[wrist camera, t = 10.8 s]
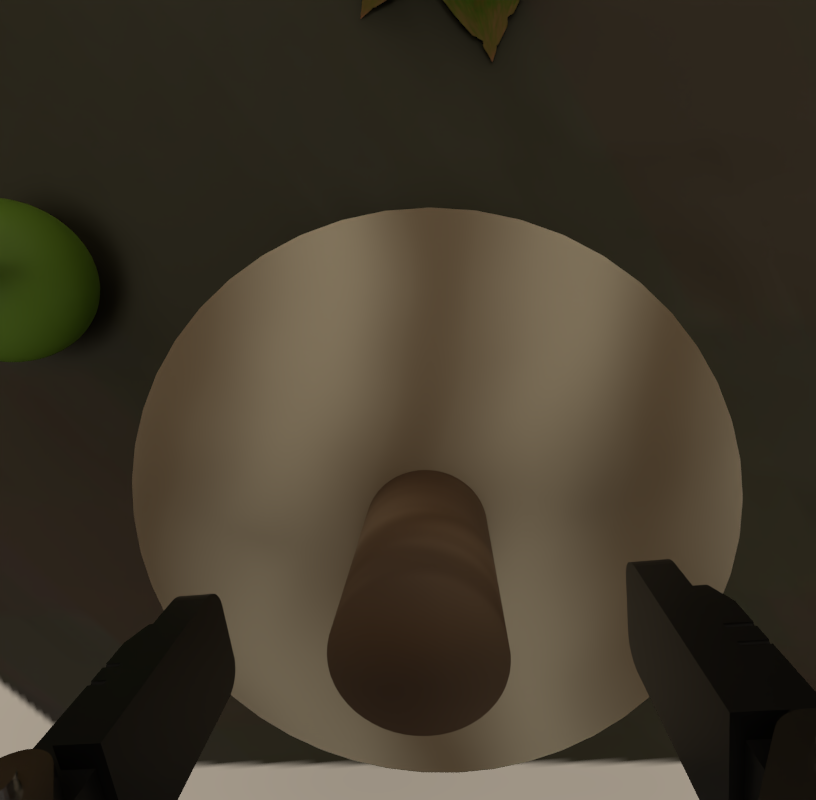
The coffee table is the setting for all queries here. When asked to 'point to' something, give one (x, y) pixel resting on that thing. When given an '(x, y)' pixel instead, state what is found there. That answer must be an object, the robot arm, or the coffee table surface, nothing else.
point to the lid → (433, 483)
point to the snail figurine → (42, 284)
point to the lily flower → (474, 18)
